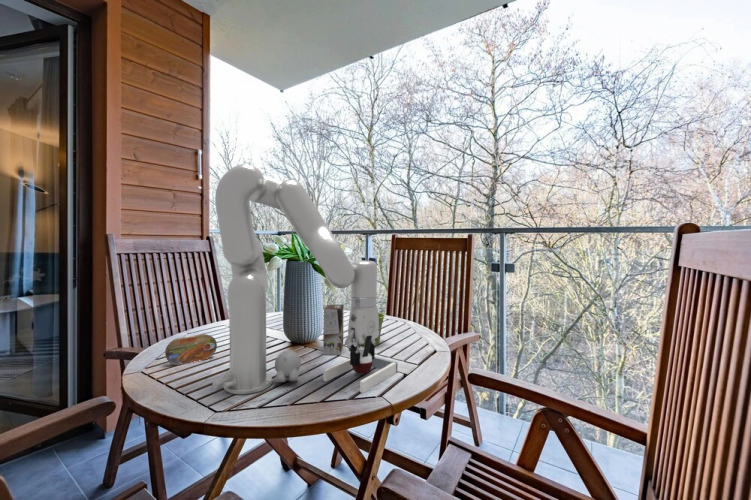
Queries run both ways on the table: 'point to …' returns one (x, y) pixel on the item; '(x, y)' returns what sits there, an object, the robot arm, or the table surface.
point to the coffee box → (333, 330)
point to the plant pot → (379, 327)
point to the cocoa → (364, 358)
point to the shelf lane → (386, 371)
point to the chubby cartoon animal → (287, 366)
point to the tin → (190, 349)
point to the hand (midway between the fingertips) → (362, 361)
